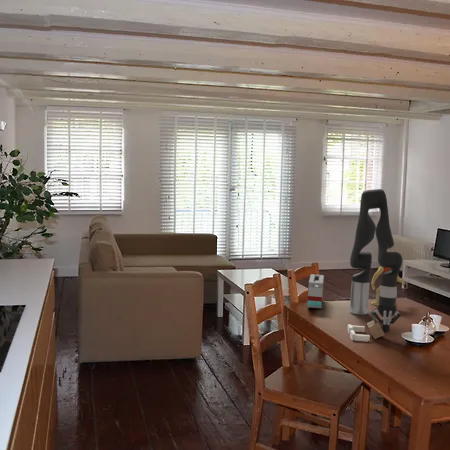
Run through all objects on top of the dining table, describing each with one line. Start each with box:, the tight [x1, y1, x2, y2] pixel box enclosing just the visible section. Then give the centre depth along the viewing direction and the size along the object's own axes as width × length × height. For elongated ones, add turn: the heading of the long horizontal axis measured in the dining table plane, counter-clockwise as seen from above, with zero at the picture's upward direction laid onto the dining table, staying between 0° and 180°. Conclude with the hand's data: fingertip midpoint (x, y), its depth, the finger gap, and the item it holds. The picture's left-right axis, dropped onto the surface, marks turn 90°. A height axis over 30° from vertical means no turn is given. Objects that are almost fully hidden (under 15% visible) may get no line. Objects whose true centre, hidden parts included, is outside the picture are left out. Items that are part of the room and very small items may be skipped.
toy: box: [370, 265, 407, 307], centre depth 308 cm, size 23×9×30 cm, turn 100°
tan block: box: [366, 308, 385, 340], centre depth 248 cm, size 7×5×12 cm
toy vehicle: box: [306, 273, 325, 309], centre depth 306 cm, size 8×30×15 cm, turn 169°
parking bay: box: [347, 324, 371, 342], centre depth 250 cm, size 15×8×3 cm, turn 174°
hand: (385, 332), depth 248 cm, fingers closed
